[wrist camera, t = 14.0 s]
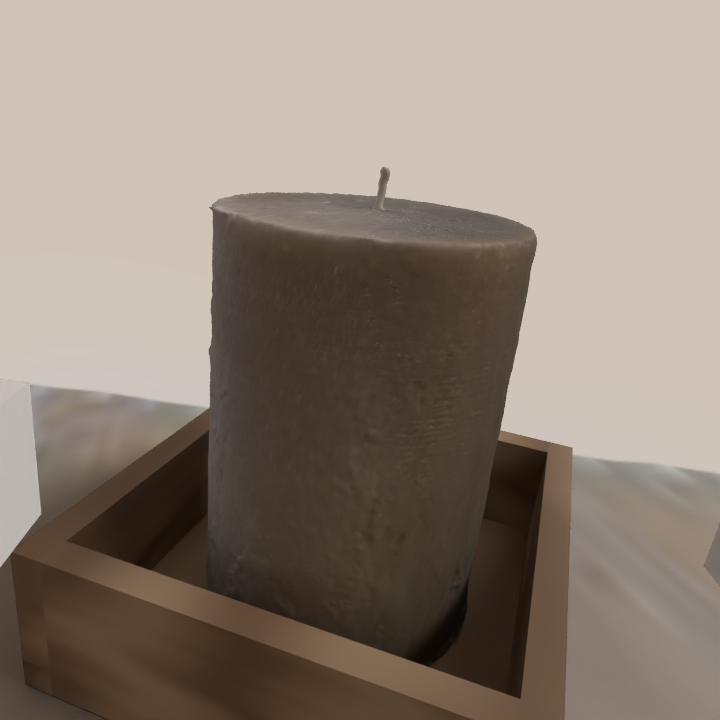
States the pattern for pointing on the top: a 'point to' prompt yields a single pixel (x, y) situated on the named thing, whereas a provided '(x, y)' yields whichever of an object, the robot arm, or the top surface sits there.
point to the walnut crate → (277, 633)
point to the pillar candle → (358, 407)
